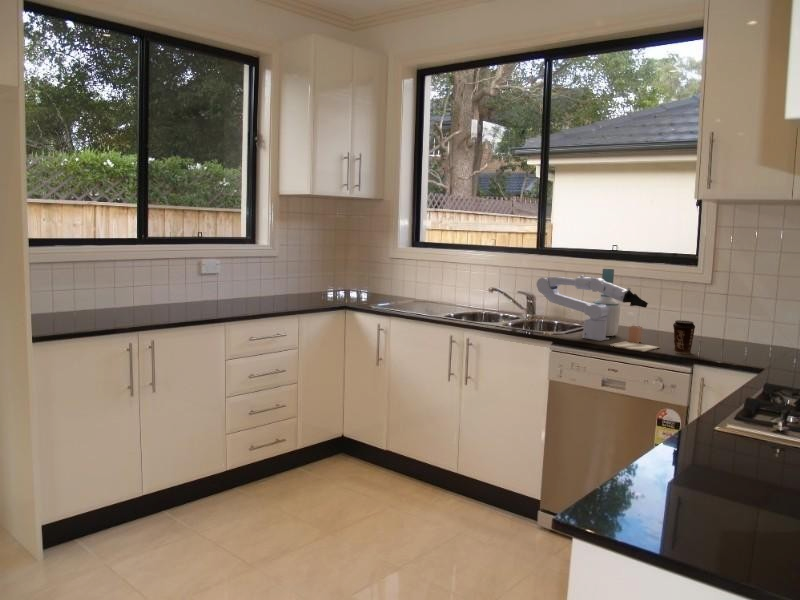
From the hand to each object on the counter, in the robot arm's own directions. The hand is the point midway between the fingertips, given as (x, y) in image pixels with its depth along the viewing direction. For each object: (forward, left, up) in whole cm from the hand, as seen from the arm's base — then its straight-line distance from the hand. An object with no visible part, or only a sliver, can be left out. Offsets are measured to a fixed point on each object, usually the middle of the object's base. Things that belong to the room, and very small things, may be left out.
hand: (644, 303), depth 295 cm
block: (-6, +5, -18) cm, 20 cm away
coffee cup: (+18, 0, -18) cm, 26 cm away
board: (0, -6, -18) cm, 19 cm away
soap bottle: (-24, +11, -18) cm, 32 cm away
